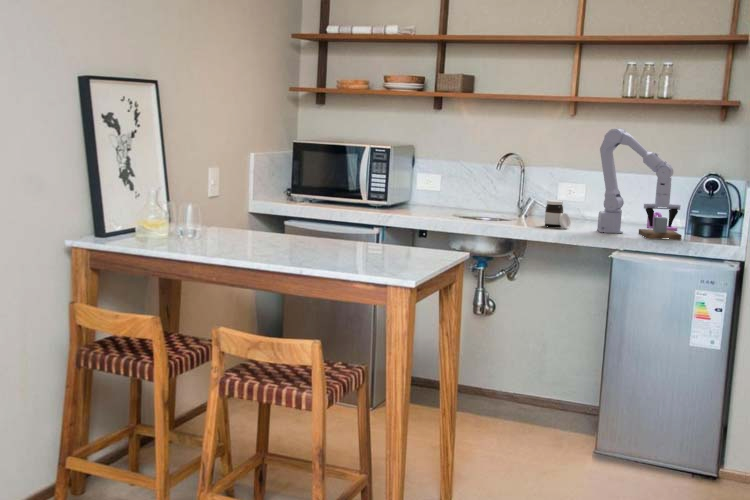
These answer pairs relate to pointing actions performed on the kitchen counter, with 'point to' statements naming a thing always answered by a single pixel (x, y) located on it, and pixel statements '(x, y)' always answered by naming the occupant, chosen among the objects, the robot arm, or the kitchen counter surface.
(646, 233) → the walnut board
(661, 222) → the slate block
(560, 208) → the spread jar
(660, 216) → the bracket
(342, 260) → the kitchen counter surface
